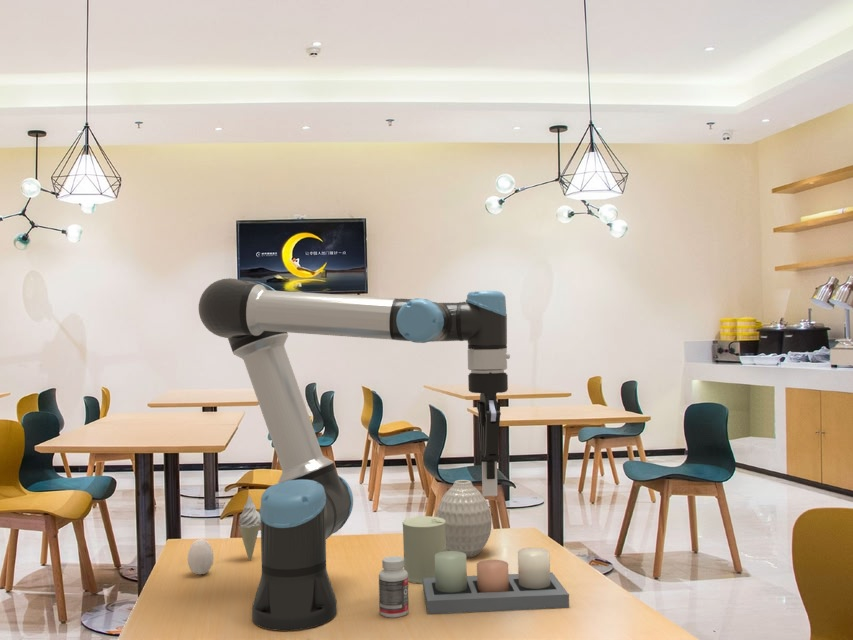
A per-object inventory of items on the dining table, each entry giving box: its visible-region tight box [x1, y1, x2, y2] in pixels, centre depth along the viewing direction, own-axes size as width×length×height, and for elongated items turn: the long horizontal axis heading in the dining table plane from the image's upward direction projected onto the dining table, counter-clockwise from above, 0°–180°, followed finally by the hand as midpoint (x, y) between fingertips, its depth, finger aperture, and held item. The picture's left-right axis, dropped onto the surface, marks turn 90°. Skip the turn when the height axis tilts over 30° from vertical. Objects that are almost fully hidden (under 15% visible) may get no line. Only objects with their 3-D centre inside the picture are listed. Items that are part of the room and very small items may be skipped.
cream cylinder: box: [517, 547, 551, 589], centre depth 144 cm, size 6×6×6 cm
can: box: [402, 515, 447, 585], centre depth 157 cm, size 9×9×12 cm
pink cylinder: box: [476, 559, 509, 593], centre depth 143 cm, size 6×6×6 cm
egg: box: [187, 538, 214, 575], centre depth 162 cm, size 5×5×8 cm
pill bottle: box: [378, 555, 410, 618], centre depth 137 cm, size 5×5×10 cm
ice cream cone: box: [237, 494, 261, 561], centre depth 172 cm, size 5×5×15 cm
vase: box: [435, 479, 493, 559], centre depth 173 cm, size 13×13×17 cm
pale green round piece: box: [435, 550, 468, 593], centre depth 143 cm, size 6×6×6 cm
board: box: [422, 571, 570, 615], centre depth 143 cm, size 26×13×2 cm, turn 94°
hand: (489, 495), depth 144 cm, fingers closed
